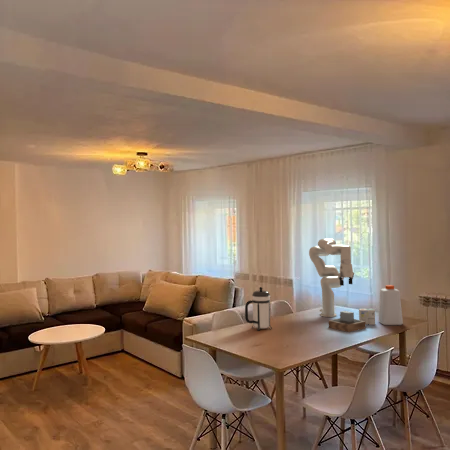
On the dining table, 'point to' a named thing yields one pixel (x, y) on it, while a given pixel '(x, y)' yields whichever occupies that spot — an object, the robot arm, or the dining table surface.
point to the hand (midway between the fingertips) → (346, 284)
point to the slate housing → (347, 316)
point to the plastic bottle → (390, 306)
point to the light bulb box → (367, 316)
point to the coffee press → (260, 309)
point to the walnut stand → (347, 325)
